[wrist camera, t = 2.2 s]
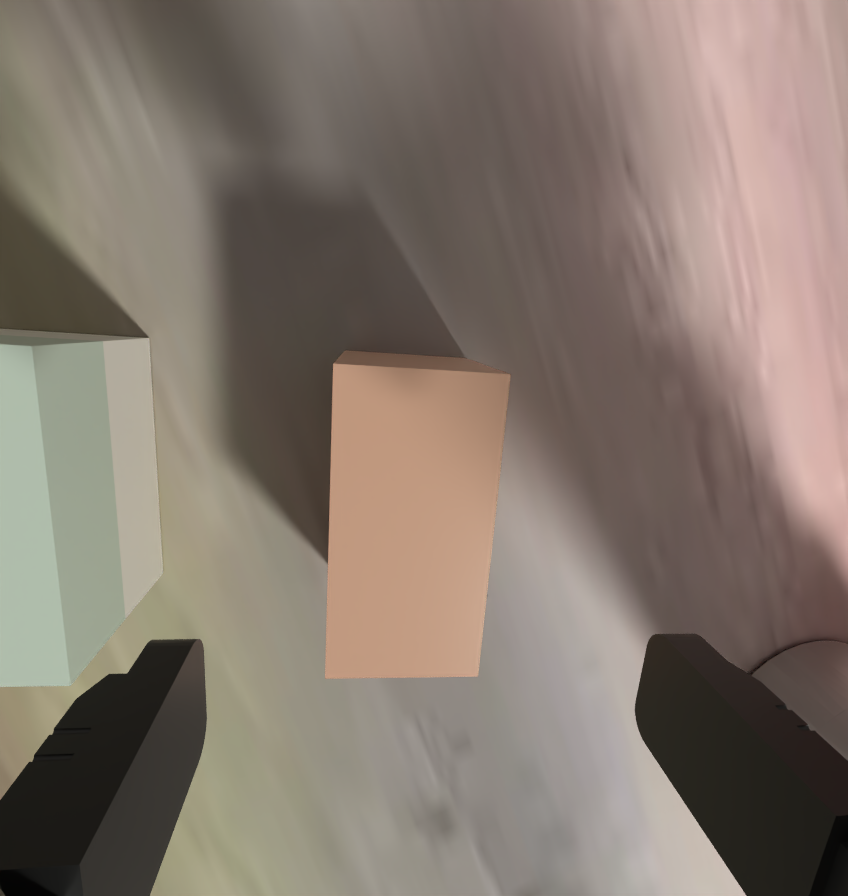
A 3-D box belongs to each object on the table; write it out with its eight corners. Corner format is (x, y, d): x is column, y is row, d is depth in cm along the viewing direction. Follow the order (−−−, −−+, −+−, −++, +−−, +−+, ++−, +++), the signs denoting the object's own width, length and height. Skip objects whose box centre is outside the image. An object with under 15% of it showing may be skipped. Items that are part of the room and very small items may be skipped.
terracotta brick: (465, 357, 21) (510, 374, 14) (446, 574, 23) (477, 676, 17) (344, 350, 20) (333, 363, 14) (338, 573, 23) (325, 678, 16)
